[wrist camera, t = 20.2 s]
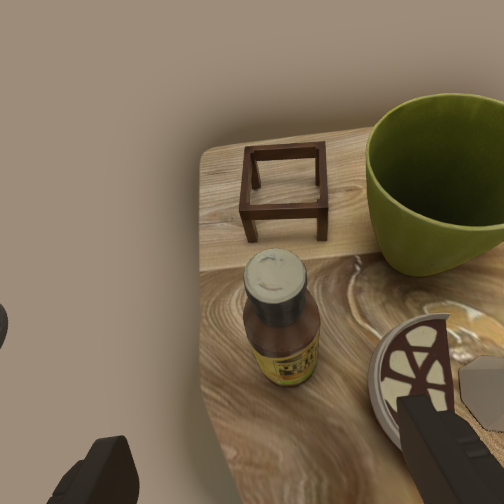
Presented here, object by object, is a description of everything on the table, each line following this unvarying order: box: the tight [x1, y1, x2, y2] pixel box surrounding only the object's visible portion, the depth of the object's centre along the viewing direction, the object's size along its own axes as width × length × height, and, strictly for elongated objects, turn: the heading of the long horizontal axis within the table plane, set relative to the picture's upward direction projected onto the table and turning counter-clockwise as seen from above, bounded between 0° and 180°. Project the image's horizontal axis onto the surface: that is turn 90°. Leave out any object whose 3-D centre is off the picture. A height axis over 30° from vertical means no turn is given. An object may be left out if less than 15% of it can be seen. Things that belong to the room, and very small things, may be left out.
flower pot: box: [366, 93, 504, 277], centre depth 38 cm, size 15×15×16 cm
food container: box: [368, 313, 455, 451], centre depth 33 cm, size 12×6×10 cm, turn 171°
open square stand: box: [239, 141, 328, 242], centre depth 47 cm, size 10×10×7 cm
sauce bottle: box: [243, 248, 320, 387], centre depth 32 cm, size 6×6×20 cm
